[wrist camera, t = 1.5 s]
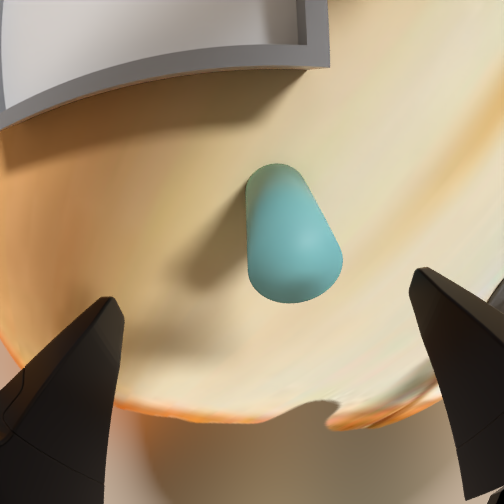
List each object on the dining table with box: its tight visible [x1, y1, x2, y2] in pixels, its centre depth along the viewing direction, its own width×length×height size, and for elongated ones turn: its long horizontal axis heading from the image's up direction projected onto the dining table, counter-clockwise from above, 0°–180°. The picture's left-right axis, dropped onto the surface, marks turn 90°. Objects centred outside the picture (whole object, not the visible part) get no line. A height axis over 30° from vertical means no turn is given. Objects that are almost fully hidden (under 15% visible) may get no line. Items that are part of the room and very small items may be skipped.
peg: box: [245, 164, 343, 303], centre depth 15 cm, size 4×4×8 cm
